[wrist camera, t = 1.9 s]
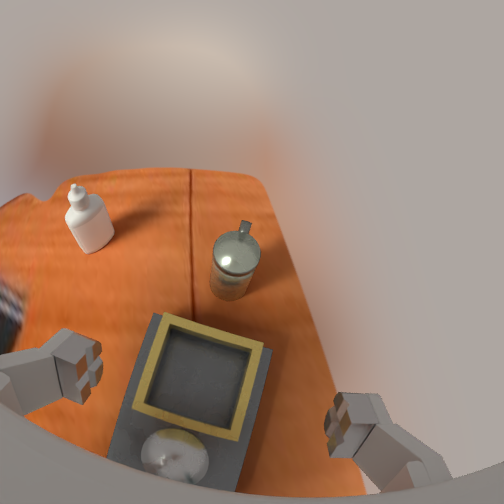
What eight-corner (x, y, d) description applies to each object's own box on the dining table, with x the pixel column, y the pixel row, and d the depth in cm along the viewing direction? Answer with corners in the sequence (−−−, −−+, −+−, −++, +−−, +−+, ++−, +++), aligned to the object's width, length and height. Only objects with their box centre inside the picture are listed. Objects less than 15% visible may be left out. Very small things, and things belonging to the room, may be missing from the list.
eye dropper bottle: (117, 248, 39) (96, 194, 29) (81, 256, 38) (51, 206, 27) (114, 223, 41) (95, 167, 31) (80, 231, 39) (53, 178, 29)
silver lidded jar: (204, 294, 38) (207, 262, 30) (219, 250, 42) (226, 210, 34) (242, 306, 39) (255, 277, 30) (254, 261, 42) (269, 223, 34)
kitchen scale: (225, 500, 26) (230, 517, 21) (112, 465, 26) (97, 475, 20) (265, 355, 36) (277, 346, 31) (157, 321, 36) (151, 307, 30)
